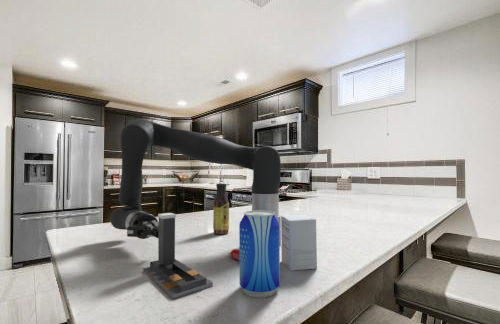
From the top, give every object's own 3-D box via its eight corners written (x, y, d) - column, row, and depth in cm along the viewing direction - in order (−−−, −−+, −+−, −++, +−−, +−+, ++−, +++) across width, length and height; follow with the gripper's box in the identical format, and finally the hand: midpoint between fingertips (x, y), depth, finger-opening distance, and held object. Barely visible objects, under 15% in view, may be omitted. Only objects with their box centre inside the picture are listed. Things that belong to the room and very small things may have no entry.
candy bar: (280, 270, 65) (280, 258, 65) (271, 274, 63) (271, 261, 63) (236, 256, 76) (236, 245, 76) (227, 259, 74) (227, 248, 74)
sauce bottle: (226, 235, 99) (226, 183, 100) (210, 234, 101) (211, 183, 101) (230, 231, 106) (230, 183, 107) (216, 230, 107) (216, 183, 108)
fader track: (143, 271, 64) (143, 262, 64) (177, 263, 70) (177, 255, 70) (172, 299, 50) (173, 288, 50) (212, 285, 56) (212, 275, 56)
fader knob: (157, 266, 65) (157, 213, 65) (169, 263, 67) (169, 212, 67) (163, 270, 61) (163, 215, 62) (175, 267, 63) (176, 214, 64)
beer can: (238, 281, 58) (238, 210, 58) (275, 280, 58) (275, 209, 59) (240, 300, 49) (240, 216, 50) (283, 298, 50) (283, 215, 51)
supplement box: (306, 259, 72) (305, 214, 73) (317, 269, 65) (317, 218, 65) (280, 261, 71) (280, 215, 71) (289, 271, 64) (289, 219, 64)
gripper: (161, 232, 84) (185, 244, 71) (117, 239, 76) (134, 254, 63) (162, 209, 85) (185, 216, 71) (117, 214, 76) (134, 223, 63)
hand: (161, 234), depth 67 cm, fingers closed
